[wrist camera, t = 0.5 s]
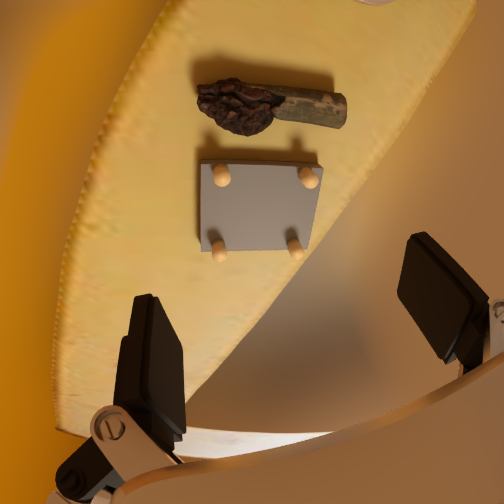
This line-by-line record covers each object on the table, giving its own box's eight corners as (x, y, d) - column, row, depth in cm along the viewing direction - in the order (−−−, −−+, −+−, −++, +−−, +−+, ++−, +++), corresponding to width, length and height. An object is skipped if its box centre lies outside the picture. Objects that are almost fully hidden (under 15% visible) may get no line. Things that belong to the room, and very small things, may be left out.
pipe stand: (200, 159, 37) (201, 170, 33) (318, 163, 40) (330, 175, 36) (200, 244, 44) (201, 262, 40) (303, 242, 47) (312, 258, 43)
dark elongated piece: (335, 91, 34) (355, 97, 30) (327, 137, 38) (345, 149, 33) (198, 76, 31) (198, 78, 26) (195, 128, 35) (194, 138, 30)
